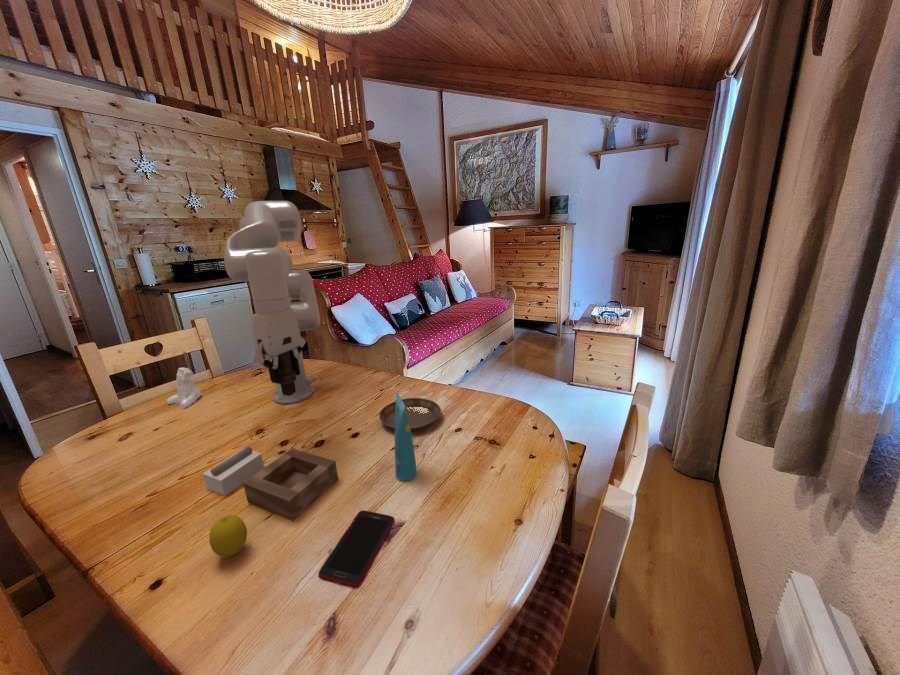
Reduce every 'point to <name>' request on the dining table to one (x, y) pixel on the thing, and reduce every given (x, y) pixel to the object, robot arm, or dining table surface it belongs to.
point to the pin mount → (233, 471)
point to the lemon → (228, 535)
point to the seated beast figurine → (185, 389)
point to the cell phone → (357, 549)
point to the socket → (291, 483)
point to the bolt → (287, 371)
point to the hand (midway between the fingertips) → (286, 377)
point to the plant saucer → (412, 414)
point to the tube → (403, 444)
